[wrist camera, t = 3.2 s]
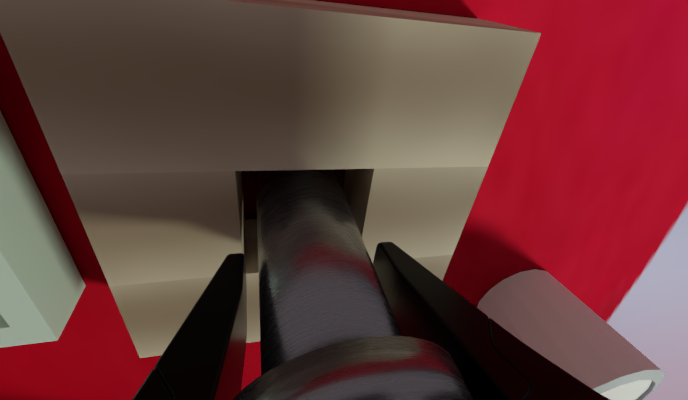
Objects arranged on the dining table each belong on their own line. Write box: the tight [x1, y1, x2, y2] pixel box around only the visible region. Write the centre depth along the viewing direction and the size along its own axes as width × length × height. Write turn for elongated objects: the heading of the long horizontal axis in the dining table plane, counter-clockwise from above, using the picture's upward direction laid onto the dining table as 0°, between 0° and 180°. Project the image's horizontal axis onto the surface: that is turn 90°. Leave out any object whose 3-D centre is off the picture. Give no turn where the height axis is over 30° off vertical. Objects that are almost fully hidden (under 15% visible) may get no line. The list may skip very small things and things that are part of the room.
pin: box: [233, 169, 474, 400], centre depth 9 cm, size 4×4×9 cm
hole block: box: [0, 0, 541, 358], centre depth 12 cm, size 12×12×3 cm
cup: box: [477, 269, 665, 400], centre depth 19 cm, size 7×7×7 cm
